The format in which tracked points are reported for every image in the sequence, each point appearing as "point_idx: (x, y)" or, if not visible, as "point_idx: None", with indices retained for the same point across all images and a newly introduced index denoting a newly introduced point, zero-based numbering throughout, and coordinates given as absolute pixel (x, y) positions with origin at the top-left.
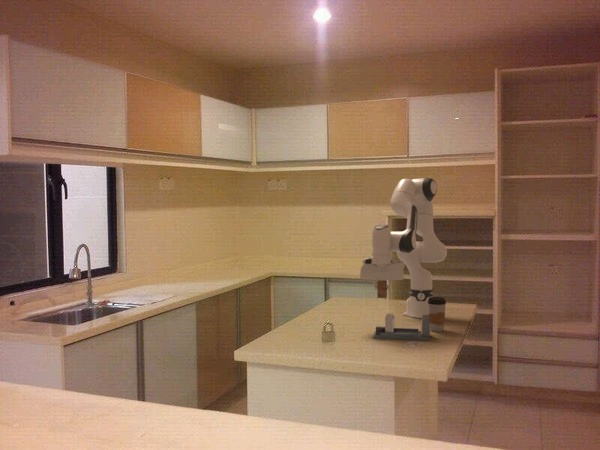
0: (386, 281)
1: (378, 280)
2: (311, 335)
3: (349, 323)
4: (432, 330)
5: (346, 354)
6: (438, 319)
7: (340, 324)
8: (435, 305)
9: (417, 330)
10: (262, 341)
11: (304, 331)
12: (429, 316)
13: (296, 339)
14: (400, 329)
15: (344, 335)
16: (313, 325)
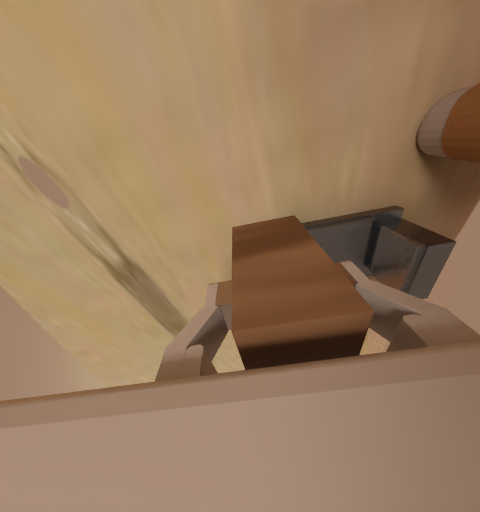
0: (361, 330)
1: (237, 332)
2: (120, 309)
3: (92, 131)
4: (422, 149)
5: (242, 366)
6: None
7: (79, 167)
8: None
9: (366, 225)
10: (85, 359)
11: (75, 287)
12: (444, 264)
13: (121, 337)
14: (315, 235)
15: (182, 287)
16: (23, 219)
